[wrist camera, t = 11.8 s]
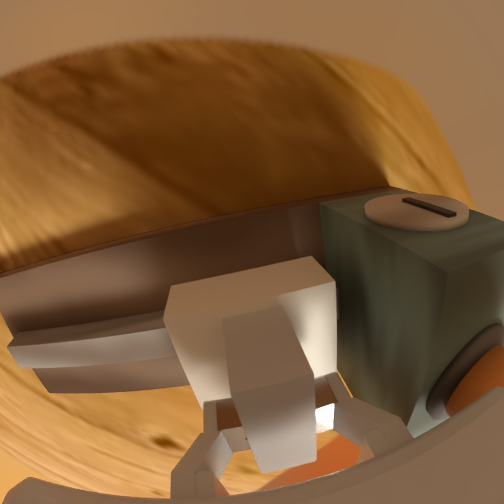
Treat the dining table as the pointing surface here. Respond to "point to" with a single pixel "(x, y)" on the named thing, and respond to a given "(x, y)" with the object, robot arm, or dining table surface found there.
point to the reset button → (478, 380)
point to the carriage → (260, 350)
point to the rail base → (267, 253)
